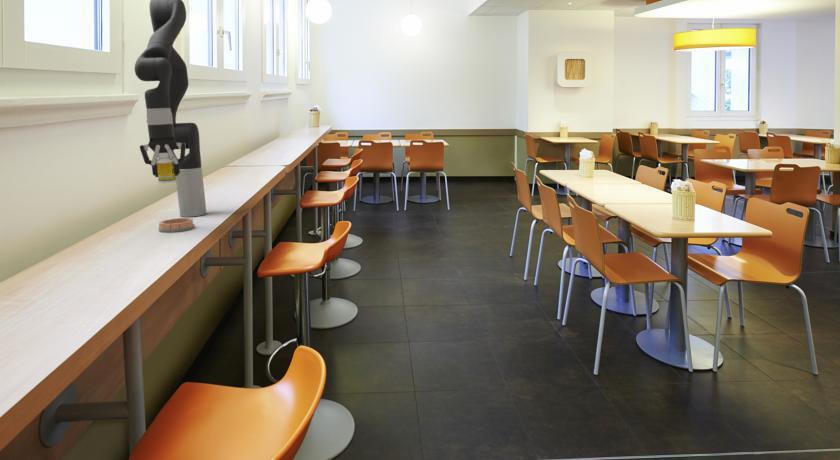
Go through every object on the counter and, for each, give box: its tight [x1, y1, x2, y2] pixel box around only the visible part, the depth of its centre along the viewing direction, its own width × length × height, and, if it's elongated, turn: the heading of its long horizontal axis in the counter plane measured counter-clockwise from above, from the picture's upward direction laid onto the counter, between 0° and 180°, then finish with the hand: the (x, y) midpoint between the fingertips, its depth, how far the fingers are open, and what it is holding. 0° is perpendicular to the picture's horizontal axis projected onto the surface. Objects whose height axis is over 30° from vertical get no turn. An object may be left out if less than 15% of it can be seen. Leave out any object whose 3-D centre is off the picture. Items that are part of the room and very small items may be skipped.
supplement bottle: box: [156, 153, 176, 184], centre depth 200 cm, size 5×5×10 cm
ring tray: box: [158, 217, 195, 234], centre depth 205 cm, size 11×11×3 cm
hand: (166, 176), depth 201 cm, fingers closed on supplement bottle, 5 cm apart
